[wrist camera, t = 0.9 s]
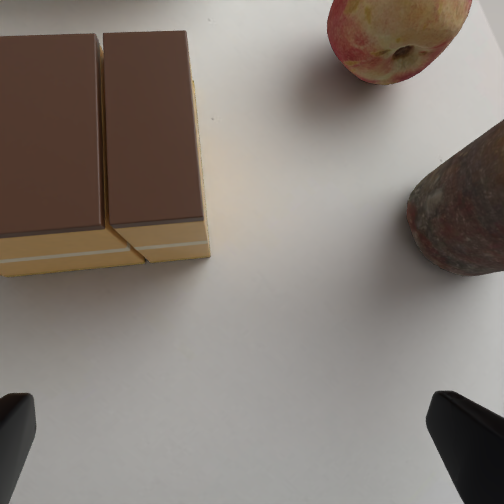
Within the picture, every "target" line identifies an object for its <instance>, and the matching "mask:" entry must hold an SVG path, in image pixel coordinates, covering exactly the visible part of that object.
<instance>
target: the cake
mask: <svg viewBox="0 0 504 504" xmlns="http://www.w3.org/2000/svg"><path fill="white" fill-rule="evenodd" d="M136 264H145V257H144V256H143V255H142V254H141V253H139V252H138V251H137V250H136V249H135V248H134V247H133V246H132V245H131V244H130V243H129V242H128V241H127V240H125V239H124V238H123V237H122V236H121V235H120V234H119V233H118V232H117V231H116V230H115V229H114V228H113V227H112V226H110V224H109V199H108V170H107V140H106V111H105V81H104V53H103V50H102V48H101V46H100V43H99V41H98V39H97V36H96V34H94V33H93V34H61V35H28V36H0V275H2V276H5V277H15V276H25V275H36V274H46V273H56V272H66V271H76V270H86V269H96V268H106V267H116V266H126V265H136Z"/></svg>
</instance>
